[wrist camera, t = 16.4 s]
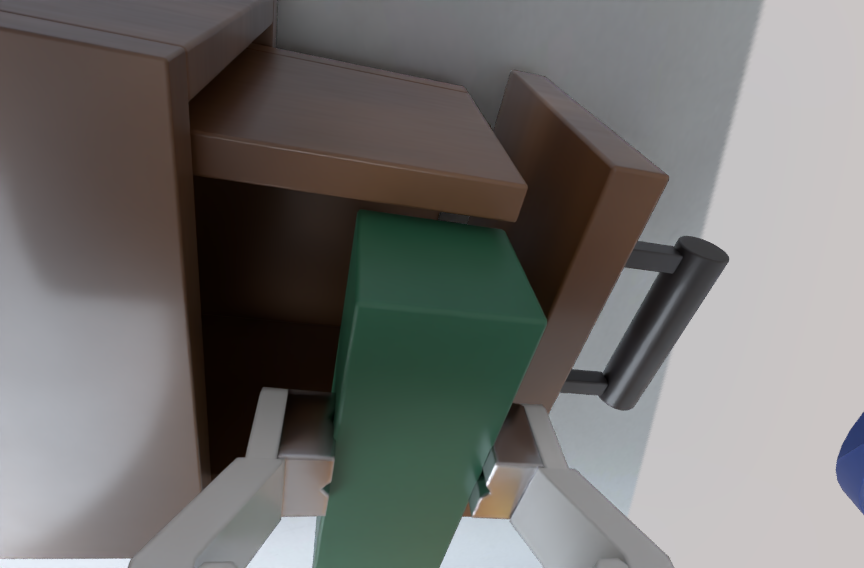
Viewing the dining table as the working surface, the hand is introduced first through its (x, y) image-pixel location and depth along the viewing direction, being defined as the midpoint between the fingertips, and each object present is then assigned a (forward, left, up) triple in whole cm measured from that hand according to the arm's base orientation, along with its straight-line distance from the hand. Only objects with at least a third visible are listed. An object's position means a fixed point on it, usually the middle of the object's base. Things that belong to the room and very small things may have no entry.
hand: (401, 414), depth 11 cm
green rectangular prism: (0, 0, -2) cm, 2 cm away
